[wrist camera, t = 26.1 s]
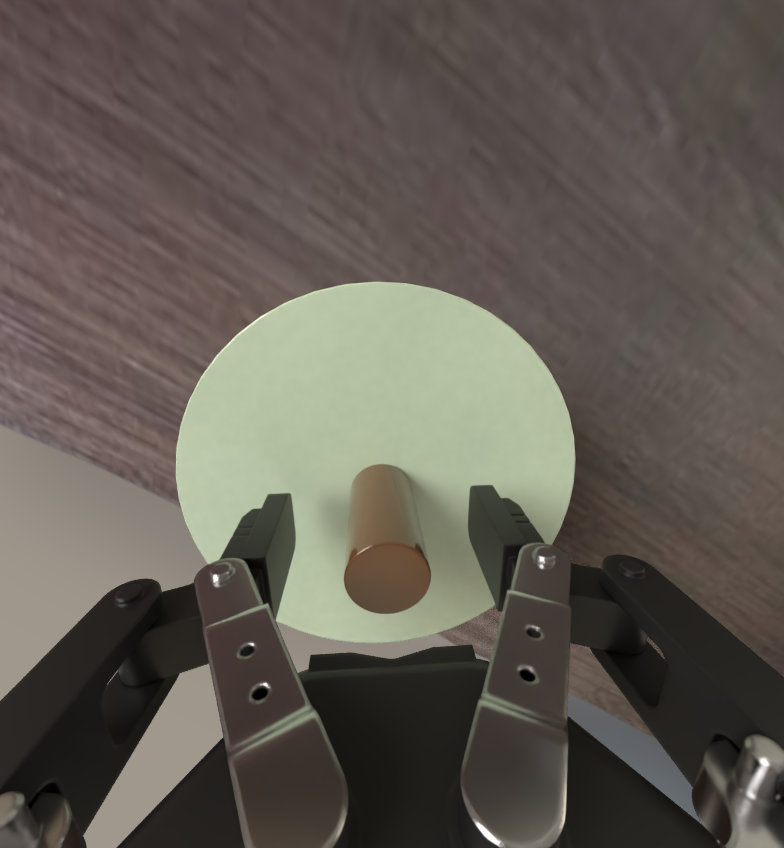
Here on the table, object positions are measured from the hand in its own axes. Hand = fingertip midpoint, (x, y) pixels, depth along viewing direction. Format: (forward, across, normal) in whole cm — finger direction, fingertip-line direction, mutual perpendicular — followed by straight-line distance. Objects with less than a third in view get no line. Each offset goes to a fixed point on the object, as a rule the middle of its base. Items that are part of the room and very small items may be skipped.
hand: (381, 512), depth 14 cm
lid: (+2, 0, 0) cm, 2 cm away
